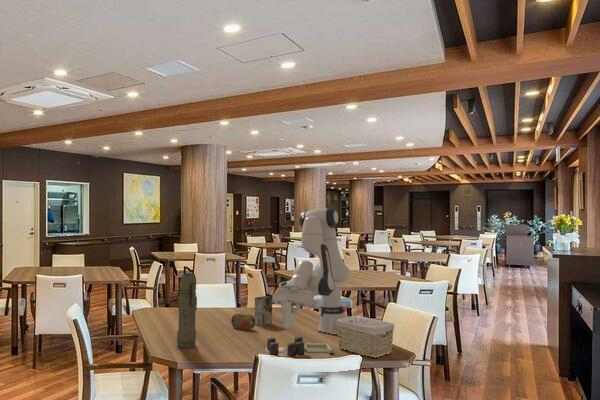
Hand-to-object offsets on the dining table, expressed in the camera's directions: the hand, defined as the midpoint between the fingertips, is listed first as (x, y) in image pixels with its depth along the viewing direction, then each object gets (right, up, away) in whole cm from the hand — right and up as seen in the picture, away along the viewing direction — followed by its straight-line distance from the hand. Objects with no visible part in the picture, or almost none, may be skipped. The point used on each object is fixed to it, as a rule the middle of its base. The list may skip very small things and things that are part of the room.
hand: (287, 312), depth 218 cm
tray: (+14, -20, +6) cm, 25 cm away
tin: (-27, -21, +48) cm, 59 cm away
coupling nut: (0, -7, 0) cm, 7 cm away
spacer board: (-1, -19, 0) cm, 19 cm away
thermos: (-50, -19, +9) cm, 54 cm away
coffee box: (-16, -22, +62) cm, 68 cm away
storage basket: (+37, -21, +6) cm, 42 cm away
